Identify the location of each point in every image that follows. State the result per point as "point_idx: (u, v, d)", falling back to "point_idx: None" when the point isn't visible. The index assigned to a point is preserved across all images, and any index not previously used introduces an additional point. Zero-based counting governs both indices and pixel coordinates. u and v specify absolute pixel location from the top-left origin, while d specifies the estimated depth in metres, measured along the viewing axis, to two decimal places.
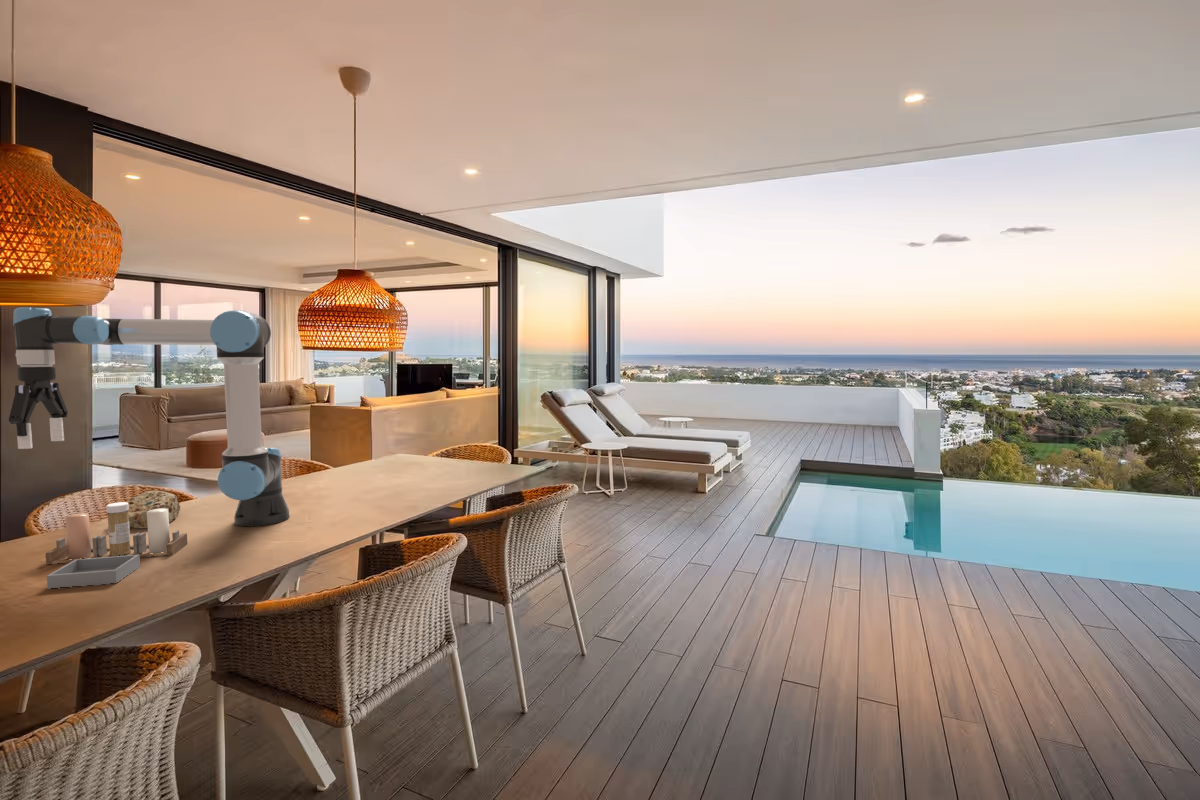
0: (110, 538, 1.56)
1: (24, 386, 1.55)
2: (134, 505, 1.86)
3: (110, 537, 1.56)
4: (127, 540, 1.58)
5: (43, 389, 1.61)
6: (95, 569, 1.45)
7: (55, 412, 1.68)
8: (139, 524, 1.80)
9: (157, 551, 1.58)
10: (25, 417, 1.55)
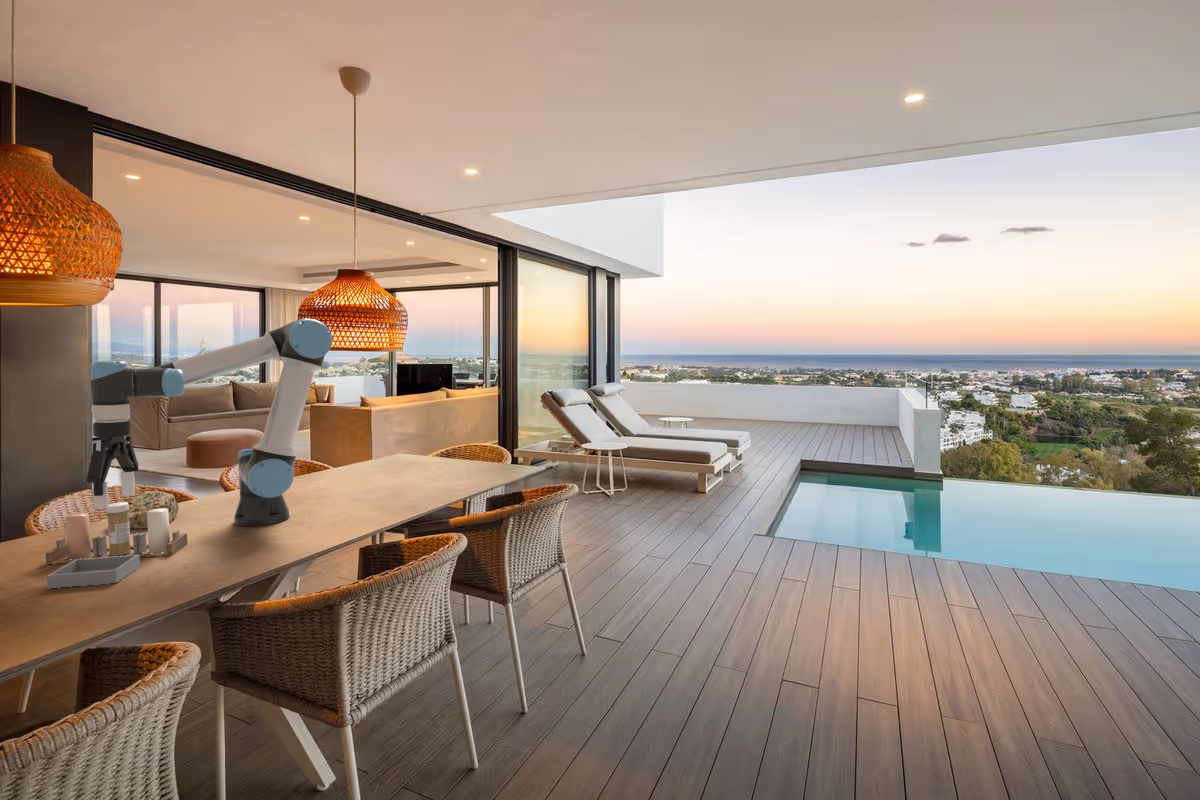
0: (110, 538, 1.56)
1: (102, 444, 1.49)
2: (133, 505, 1.85)
3: (110, 537, 1.56)
4: (127, 540, 1.58)
5: (118, 445, 1.55)
6: (95, 569, 1.45)
7: (127, 466, 1.62)
8: (139, 524, 1.80)
9: (157, 551, 1.58)
10: (102, 476, 1.49)
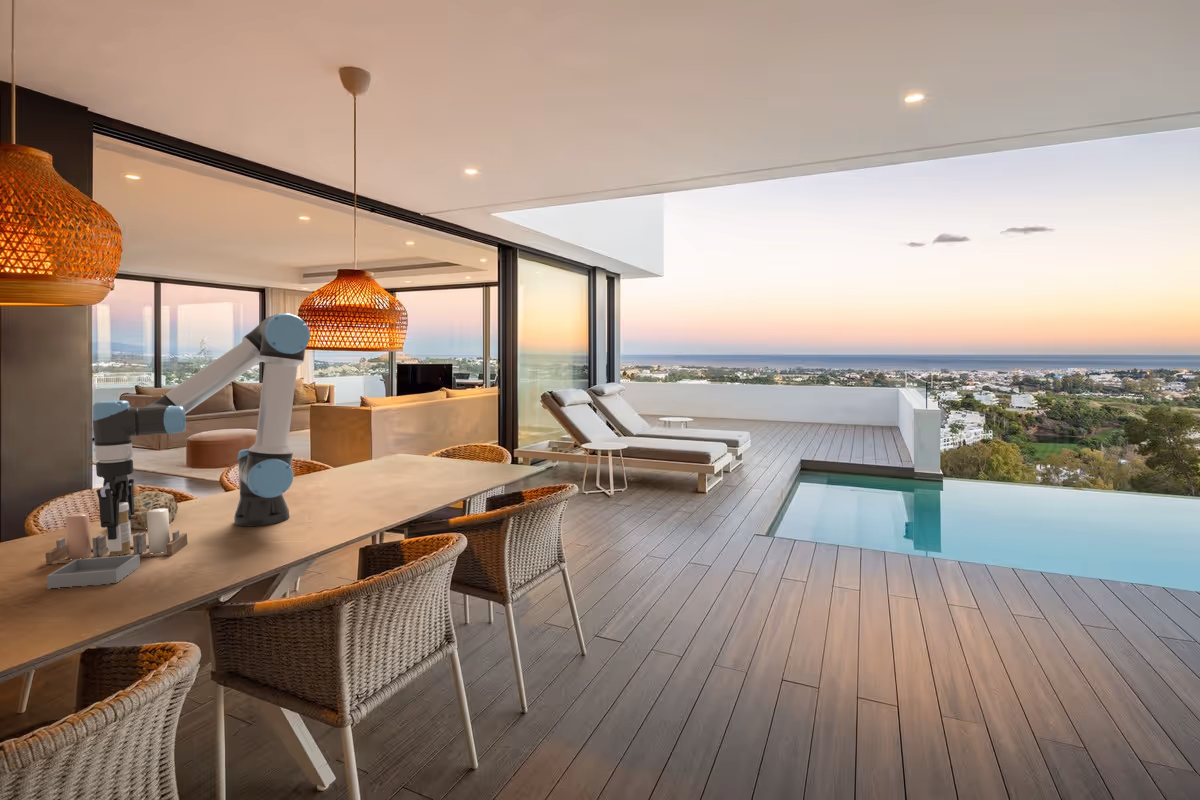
0: None
1: (106, 491, 1.51)
2: None
3: None
4: (127, 540, 1.58)
5: (121, 484, 1.56)
6: (95, 569, 1.45)
7: None
8: (139, 524, 1.79)
9: (157, 551, 1.58)
10: (115, 521, 1.54)
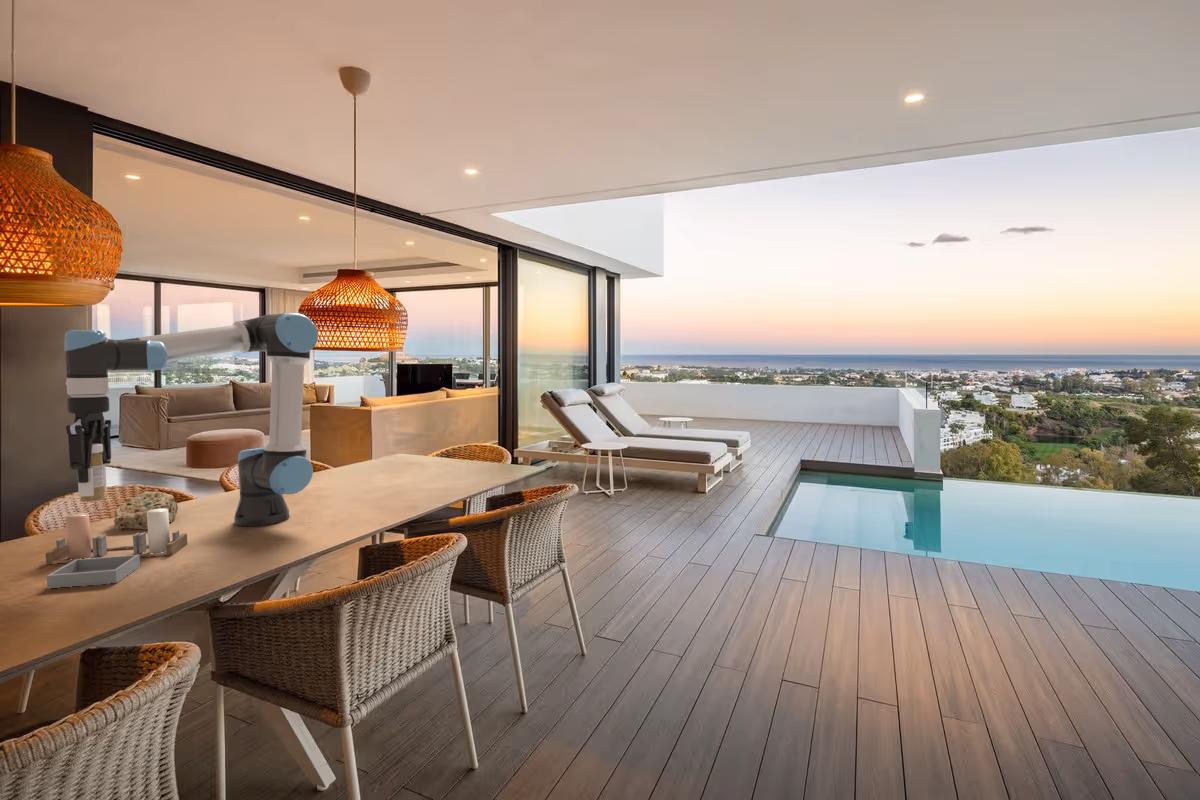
0: None
1: (76, 427, 1.36)
2: (132, 506, 1.85)
3: None
4: (100, 485, 1.43)
5: (95, 422, 1.41)
6: (95, 569, 1.45)
7: None
8: (140, 525, 1.79)
9: (157, 551, 1.58)
10: (86, 462, 1.39)
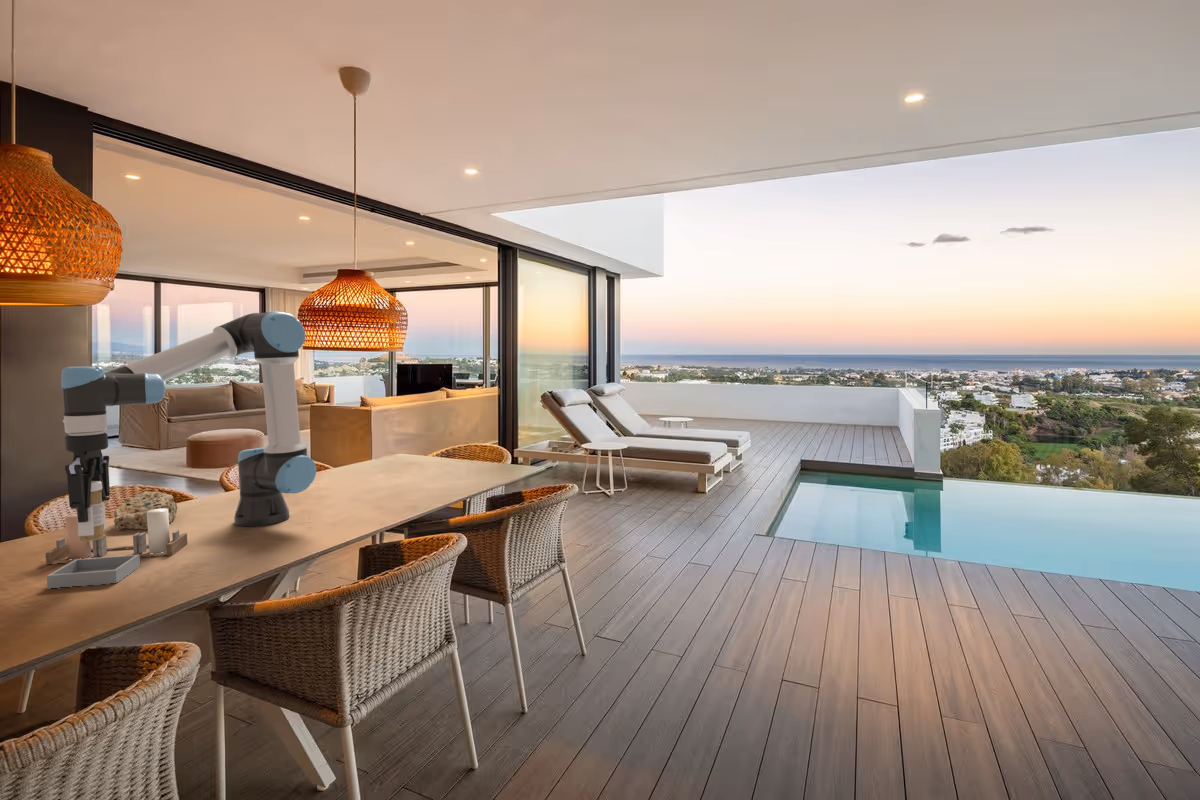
0: None
1: (75, 467, 1.33)
2: (132, 506, 1.84)
3: None
4: (100, 523, 1.40)
5: (94, 460, 1.38)
6: (95, 569, 1.45)
7: None
8: (140, 525, 1.79)
9: (157, 551, 1.58)
10: (86, 501, 1.37)
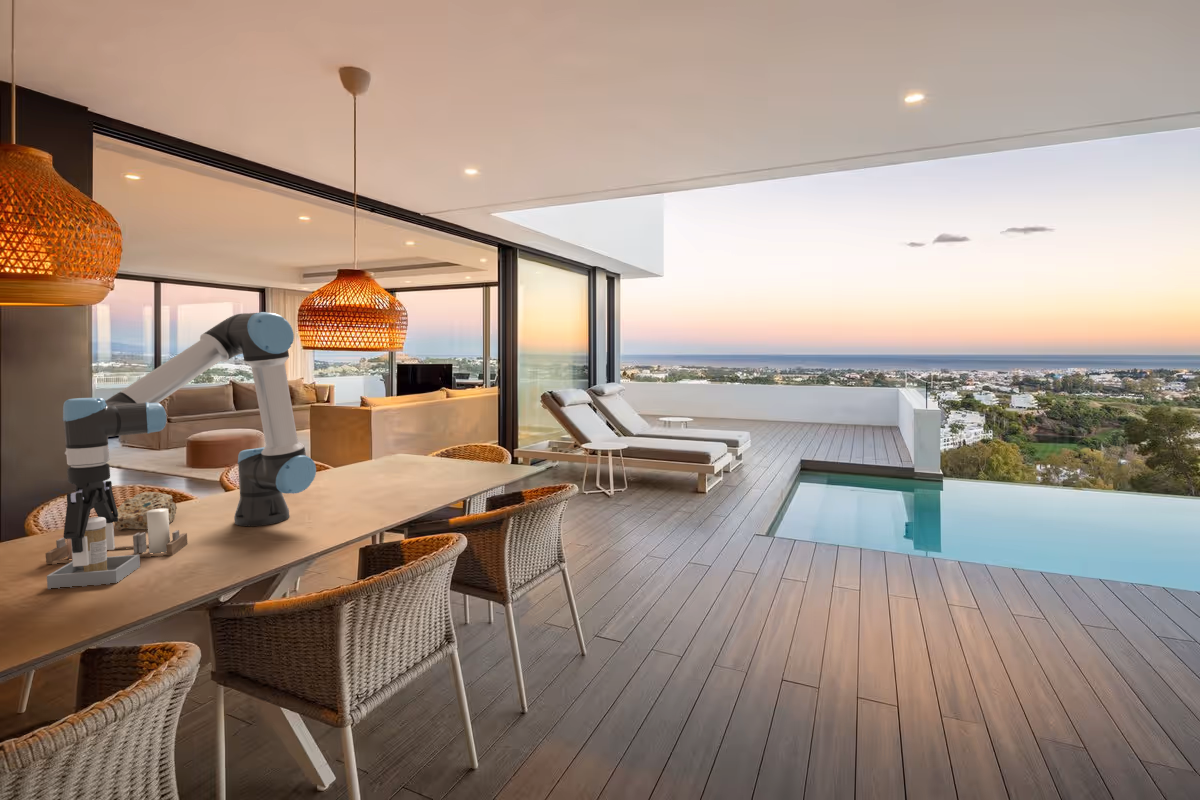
0: None
1: (77, 494, 1.34)
2: (131, 507, 1.84)
3: None
4: (103, 560, 1.41)
5: (96, 491, 1.39)
6: None
7: (105, 516, 1.46)
8: (141, 525, 1.79)
9: (157, 551, 1.58)
10: (81, 531, 1.34)
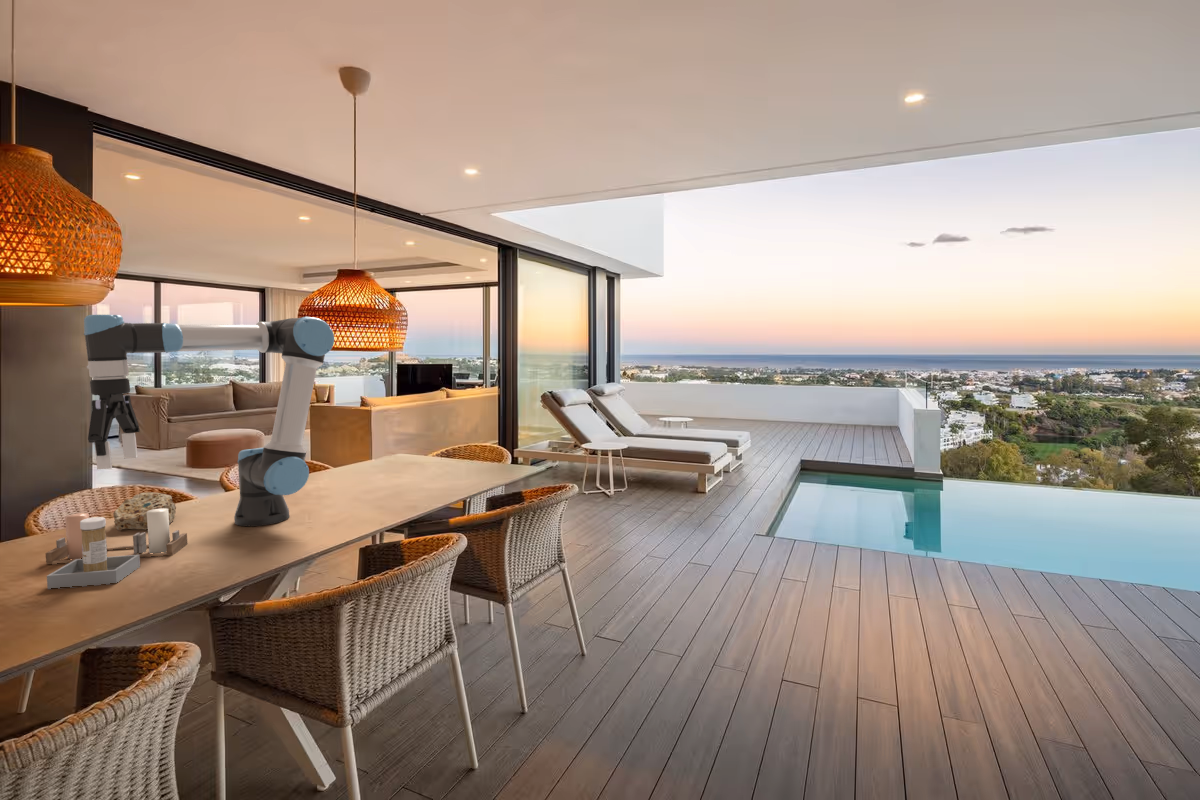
0: (84, 558, 1.39)
1: (101, 401, 1.42)
2: (131, 507, 1.83)
3: (84, 556, 1.39)
4: (103, 560, 1.41)
5: (118, 403, 1.47)
6: None
7: (128, 427, 1.55)
8: (142, 525, 1.78)
9: (157, 551, 1.58)
10: (104, 435, 1.42)
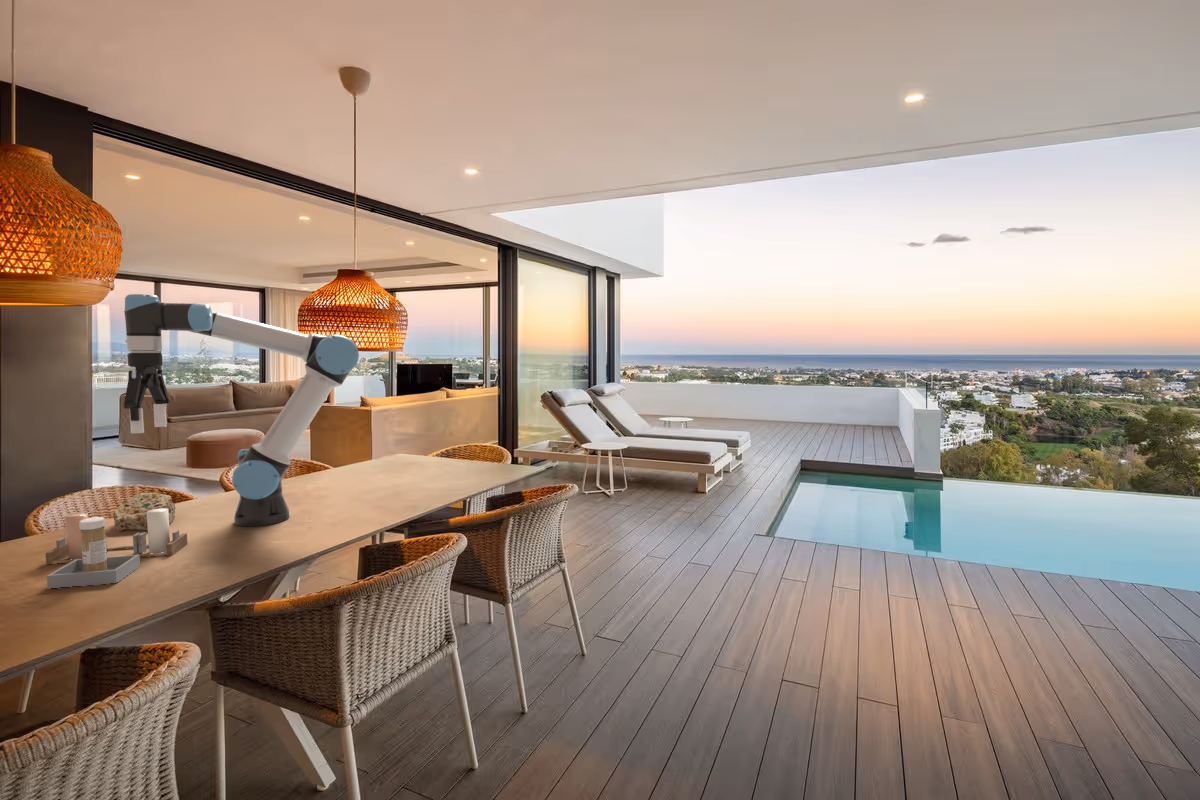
0: (84, 558, 1.39)
1: (137, 371, 1.57)
2: (131, 507, 1.83)
3: (84, 557, 1.39)
4: (103, 560, 1.41)
5: (152, 375, 1.63)
6: None
7: (159, 398, 1.70)
8: (142, 526, 1.78)
9: (157, 551, 1.58)
10: (138, 402, 1.57)
